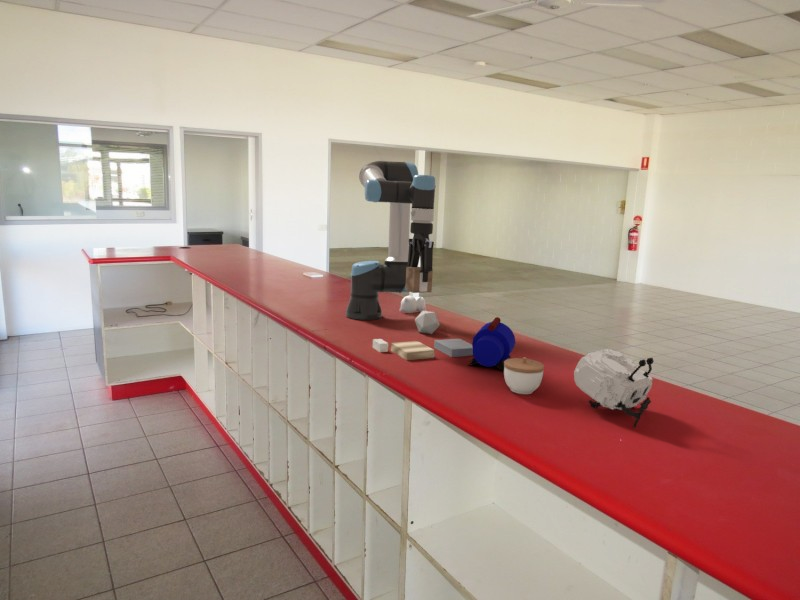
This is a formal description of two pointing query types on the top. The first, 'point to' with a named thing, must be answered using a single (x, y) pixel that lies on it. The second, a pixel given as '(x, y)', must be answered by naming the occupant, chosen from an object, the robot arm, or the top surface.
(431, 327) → the die
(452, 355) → the grey slab
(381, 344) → the white brick
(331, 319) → the top surface
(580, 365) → the robot
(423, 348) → the oak slab
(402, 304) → the white rounded figure
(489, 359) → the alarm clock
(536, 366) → the lidded jar
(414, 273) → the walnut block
